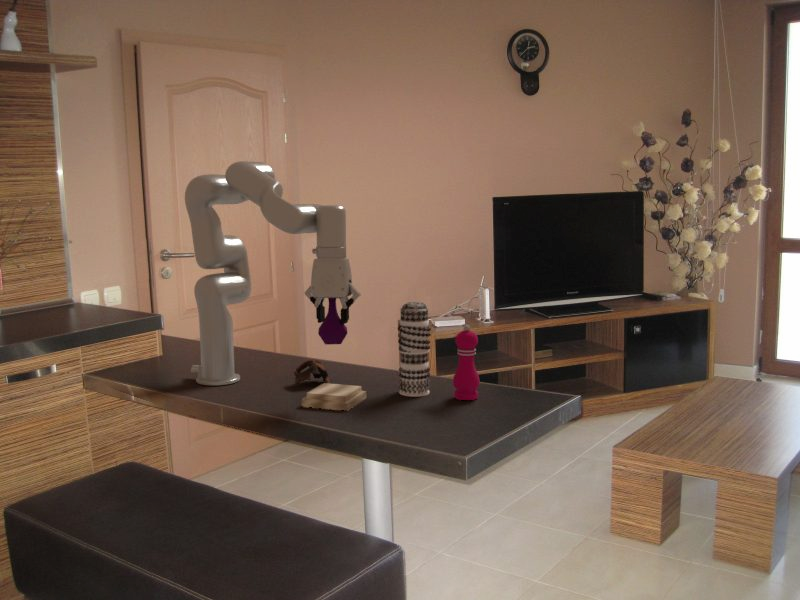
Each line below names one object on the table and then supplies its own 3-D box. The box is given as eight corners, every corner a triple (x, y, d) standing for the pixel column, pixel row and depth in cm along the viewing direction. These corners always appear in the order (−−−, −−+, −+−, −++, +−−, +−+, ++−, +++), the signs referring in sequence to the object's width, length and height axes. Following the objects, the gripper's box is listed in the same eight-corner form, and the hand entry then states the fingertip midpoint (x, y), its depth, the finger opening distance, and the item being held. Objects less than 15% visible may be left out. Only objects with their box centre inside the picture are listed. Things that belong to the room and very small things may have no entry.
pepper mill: (482, 395, 212) (483, 323, 209) (476, 402, 205) (476, 327, 202) (456, 393, 214) (457, 322, 211) (449, 400, 207) (450, 326, 204)
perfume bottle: (319, 340, 207) (317, 273, 204) (347, 339, 207) (346, 272, 205) (318, 346, 199) (317, 276, 197) (347, 345, 200) (346, 275, 197)
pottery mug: (330, 390, 220) (316, 367, 218) (302, 403, 222) (287, 380, 220) (335, 370, 231) (321, 347, 229) (308, 382, 233) (294, 360, 231)
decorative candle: (392, 395, 212) (392, 304, 209) (404, 387, 221) (404, 300, 217) (424, 398, 209) (424, 306, 206) (435, 390, 218) (435, 301, 214)
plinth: (301, 406, 201) (301, 393, 201) (322, 394, 214) (322, 381, 213) (348, 411, 197) (347, 397, 197) (366, 398, 210) (366, 385, 209)
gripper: (294, 254, 199) (296, 323, 202) (357, 255, 194) (358, 326, 196) (307, 251, 206) (308, 318, 209) (368, 253, 201) (368, 322, 203)
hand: (332, 321), depth 203 cm, fingers closed on perfume bottle, 5 cm apart
